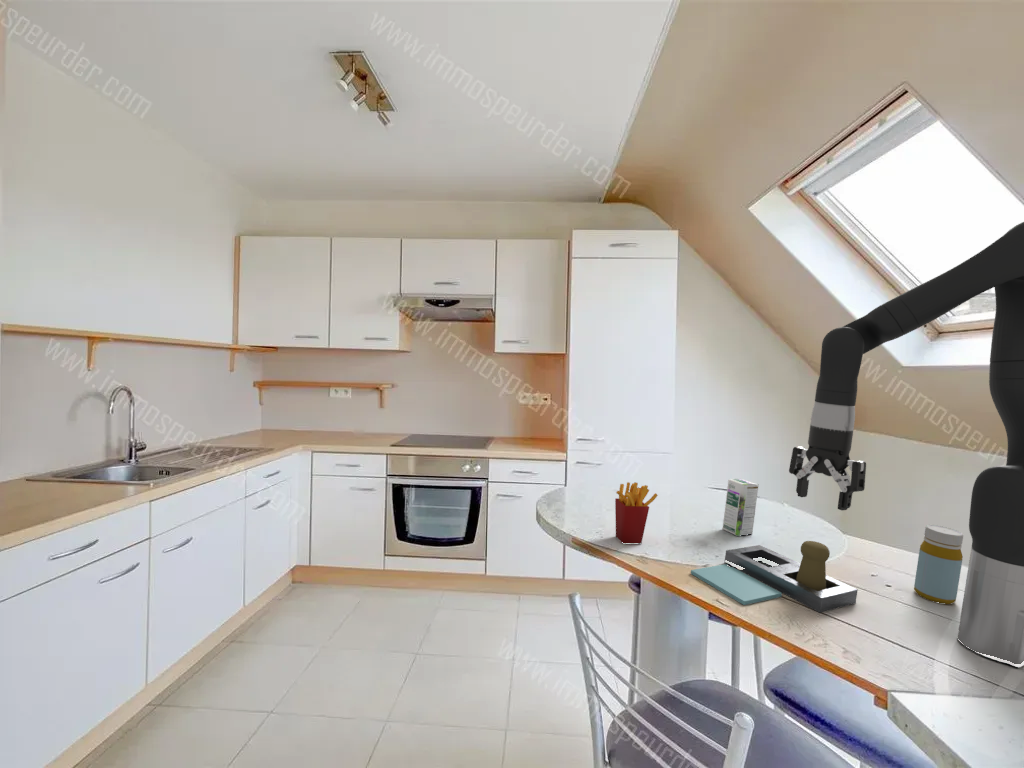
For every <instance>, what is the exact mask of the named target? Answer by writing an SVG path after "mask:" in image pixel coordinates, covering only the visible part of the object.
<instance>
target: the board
mask: <svg viewBox="0 0 1024 768" xmlns="http://www.w3.org/2000/svg"><path fill="white" fill-rule="evenodd" d="M727 565H728V564H726V563H723V564H719V565H712V566H708V567H701V568H695V569H691V570H690V574H691V575H692V576H694V577H696V578H697V579H699V580H701V581H702V582H704V583H706V584H707V585H709V586H711V587H713V588H714V589H716V590H718V591H719V592H721V593H723V594H725V596H728V597H729V598H731V599H733V600H735V601H736V602H738V603H740V604H741V605H743V606H747V605H751V604H755V603H759V602H765V601H769V600H774V599H777V598H782V595H783V593H781V592H779V591H777V590H776V589H774V588H772V587H770V586H768V585H766V584H764V583H762V582H760V581H758V580H757V579H755V578H753V577H751V576H749V575H747V574H745V573H743V572H741V571H739V570H738V569H736V568H734V567H729V566H727Z"/></svg>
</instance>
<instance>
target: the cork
mask: <svg viewBox="0 0 1024 768" xmlns="http://www.w3.org/2000/svg"><path fill="white" fill-rule="evenodd" d="M800 553H801V555H802V557H801V562H800V567H799V571H798V574H797V578H796V581H798V582H800V583H802V584H804V585H806V586H808V587H810V588H812V589H814V590H816V591H820V590H825V589H826V575H827V574H826V571H827V570H826V567H827V566H826V562H827V561H828V560H829V559H830V553H831V552H830V549H829V548H828V546H827V545H825V544H824V543H821V542H819V541H814V540H806V541H803V543H801V546H800Z"/></svg>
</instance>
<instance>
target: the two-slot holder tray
mask: <svg viewBox="0 0 1024 768" xmlns="http://www.w3.org/2000/svg"><path fill="white" fill-rule="evenodd" d="M758 557H762V558H765V559H767V560H770V561H773V562H775V563H777V564H779V565H778V566H773V567H771V566H768V565H766V564H764V563H762V562H757V561H755V560H753V558H758ZM725 560H727V561H729V562H732V563H734V564H736V565H739V566H741V567H743V568H745V569H743V570H739V571H741V572H743V573H745V574H747V575H749V576H751V577H752V578H754V579H756V580H758V581H760V582H762V583H764V584H766V585H768V586H770V587H771V588H773V589H775V590H777V591H779V592H781V593H782V595H785V596H787V597H789V598H791V599H793V600H794V601H796V602H798V603H801V604H802V605H804V606H806V607H808V608H810V609H812V610H813V611H816V612H817V613H819V614H821V613H824V612H828V611H832V610H835V609H836V610H837V609H839V608H844V607H848V606H850V605H855V604H857V598H858V589H857V588H855V587H853V586H850V585H848V584H846V583H845V582H843V581H841V580H838V579H835V578H834V577H831V576H829V575H827V574H826V589H825V590H820V591H816V590H814V589H812V588H810V587H808V586H806V585H804V584H802V583H800V582H798V581H796V578H797V574H798V571H799V567H800V564H801V562H799V561H797V560H794V559H791V558H789V557H787V556H785V555H782V554H780V553H778V552H776V551H774V550H771V549H769V548H768V547H765V546H763V545H761V544H758V545H752V546H746V547H745V546H744V547H740V548H739V547H738V548H733V549H727V550H725V555H724V561H725Z"/></svg>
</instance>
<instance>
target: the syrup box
mask: <svg viewBox="0 0 1024 768" xmlns="http://www.w3.org/2000/svg"><path fill="white" fill-rule="evenodd" d="M726 489H727V490H726V497H725V505H724V506H725V507H724V512H723V513H724V515H723V522H722V530H723V531H725V532H728V533H730V534H732V535H734V534H735V536H736V535H737V536H736V537H741V536H740V535H746V536H748V535H747V534H752V535H753V531H754V523H755V516H756V510H757V509H756V507H757V499H758V493H759V492H758V491H759V484H758V483H754V482H752V481H749V480H746V479H743V478H729V479H728V481H727V487H726Z"/></svg>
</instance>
